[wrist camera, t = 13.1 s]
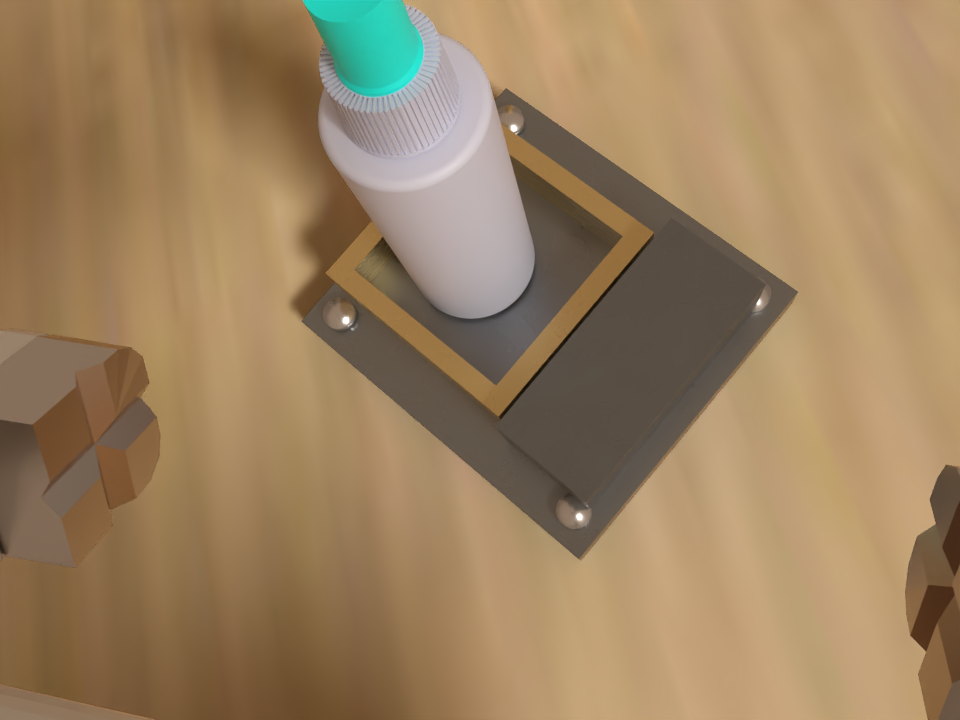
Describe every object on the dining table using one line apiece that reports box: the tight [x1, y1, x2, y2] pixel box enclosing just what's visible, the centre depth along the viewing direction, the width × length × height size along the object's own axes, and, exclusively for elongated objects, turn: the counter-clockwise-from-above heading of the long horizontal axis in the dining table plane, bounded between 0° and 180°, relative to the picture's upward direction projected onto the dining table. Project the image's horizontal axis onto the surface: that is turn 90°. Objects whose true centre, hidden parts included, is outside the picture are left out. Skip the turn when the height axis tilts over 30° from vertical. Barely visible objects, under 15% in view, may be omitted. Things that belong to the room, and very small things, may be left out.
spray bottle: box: [303, 0, 535, 319], centre depth 35 cm, size 6×6×22 cm
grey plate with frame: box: [302, 89, 798, 560], centre depth 44 cm, size 16×18×6 cm
